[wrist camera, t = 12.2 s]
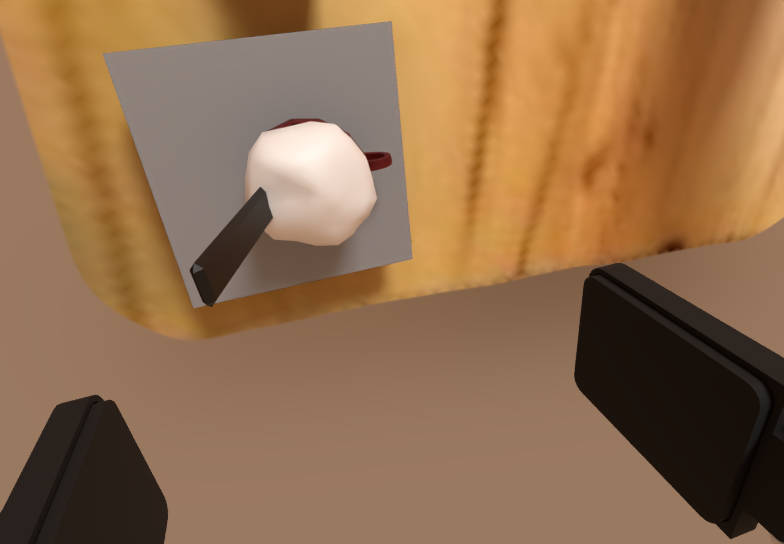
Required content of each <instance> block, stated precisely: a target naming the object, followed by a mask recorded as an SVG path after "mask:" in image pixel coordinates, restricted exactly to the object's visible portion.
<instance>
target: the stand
mask: <svg viewBox="0 0 784 544" xmlns="http://www.w3.org/2000/svg"><path fill="white" fill-rule="evenodd" d="M103 56H104V59H105V62H106V64H107V67H108V70H109V73H110V76H111V78H112V81H113V84H114V87H115V90H116V93H117V95H118V98H119V101H120V104H121V107H122V109H123V112H124V115H125V118H126V121H127V123H128V126H129V129H130V132H131V135H132V137H133V140H134V143H135V146H136V149H137V151H138V154H139V157H140V160H141V163H142V165H143V168H144V171H145V174H146V177H147V179H148V182H149V185H150V188H151V191H152V193H153V196H154V199H155V202H156V205H157V207H158V210H159V213H160V216H161V219H162V221H163V224H164V227H165V230H166V233H167V235H168V238H169V241H170V244H171V247H172V249H173V252H174V255H175V258H176V261H177V263H178V266H179V269H180V272H181V275H182V277H183V280H184V283H185V286H186V289H187V291H188V294H189V297H190V300H191V303H192V305H193V308H197V307H202V306H206V304H205V303H203V302H202V299H201V297H200V295H199V292H198V290H197V288H196V285H195V283H194V280H193V278H192V276H191V273H190V271H189V270H190V268H191V267H192V265H193V263H194V262H195V261H196V260H197V259H198V257H199V256H200V255H201V254H202V253H203V252H204V250H205V249H206V248H207V247H208V246H209V245H210V244H211V242H212V241H213V240H214V239H215V238H216V237H217V236H218V234H219V233H220V232H221V231H222V230H223V229H224V228H225V226H226V225H227V224H228V223H229V222H230V221H231V219H232V218H233V217H234V216H235V215H236V214H237V213H238V211H239V210H240V209H241V208H242V207H243V206H244V205H245V203H246V200H245V174H246V167H247V161H248V154H249V151H250V150H251V148H252V147H253V145H254V144H255V142H256V141H257V139H258V138H259V136H260V135H261V133H262V132H266V131H268V130H270V129H272V128H274V127H276V126H278V125H280V124H282V123H283V122H285V121H287V120H289V119H321V120H323V121H325V122H327V123H331V124H335V125H337V126H338V127H339V128H340V129H342V130H344V131H346V132H347V133H349V134H350V136H351V137H352V138H353V139H354V141H355V142H356V143H357V145H358V146H359V147H360V148H361V150H362V151H363V152H388V153H390V155H391V158H392V164H391V165H390V166H388V167H386V168H383V169H380V170H376V171H371V175H372V178H373V183H374V187H375V192H376V196H377V200H376V202H375V204H374V206H373V208H372V210H371V212H370V214H369V216H368V217H367V218H366V219H365V220H364V221H363V222H362V223H361V224H360V225H359V227H358V228H357V229H356V231H355V233H354V234H353V235H352V236H350V237H349V238H348V239H346V240H345V241H344V242H342V243H341V244H339V245H328V246H315V245H311V244H306V243H302V242H298V241H287V240H274V239H273V238H272V237H270V236H269V235H268V234H267V233H266V232H265V231H264V232H263V233H262V235H261V236H260V238H259V239H258V240H257V242H256V243H255V245H254V246H253V248H252V249H251V251H250V252H249V254H248V255H247V257H246V258H245V259H244V261H243V262H242V264H241V265H240V267H239V268H238V270H237V271H236V273H235V274H234V276H233V277H232V278H231V280H230V281H229V283H228V284H227V286H226V287H225V289H224V290H223V292H222V293H221V294H220V296H219V297H218V299H217V300H216V302H215V303H219V302H224V301H228V300H233V299H237V298H241V297H246V296H250V295H255V294H259V293H264V292H268V291H273V290H277V289H281V288H286V287H290V286H295V285H299V284H304V283H308V282H313V281H317V280H321V279H326V278H330V277H335V276H339V275H344V274H348V273H353V272H357V271H361V270H366V269H370V268H375V267H379V266H384V265H388V264H393V263H397V262H401V261H406V260H410V259H412V248H411V236H410V225H409V214H408V202H407V191H406V180H405V168H404V157H403V146H402V135H401V123H400V112H399V101H398V89H397V78H396V67H395V55H394V44H393V33H392V22H391V21H390V22H381V23H372V24H363V25H354V26H345V27H336V28H327V29H318V30H309V31H300V32H291V33H282V34H273V35H264V36H255V37H246V38H237V39H228V40H220V41H211V42H202V43H193V44H184V45H175V46H166V47H157V48H148V49H139V50H130V51H121V52H112V53H103ZM215 303H214V304H215Z"/></svg>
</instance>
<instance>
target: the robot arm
mask: <svg viewBox="0 0 784 544" xmlns="http://www.w3.org/2000/svg"><path fill="white" fill-rule="evenodd" d="M574 377H575V382H576V384H577V386H578V388H579V390H580V391H581V392H582V393H583V394H584V395H585V396H586V397H587V398H588V399H589V400H590V401H591V403H592V404H593V405H594V406H595V407H596V408H597V409H598V410H599V411H600V412H601V413H602V414H603V415H604V416H605V417H606V418H607V419H608V420H609V421H610V422H611V423H612V424H613V425H614V426H615V428H617V430H618V431H619V432H620V433H621V434H622V435H623V436H624V437H625V438H626V439H627V440H628V441H629V442H630V443H631V444H632V445H633V446H634V447H635V448H636V449H637V450H638V452H639V453H640V454H642V456H643V457H645V459H646V460H647V461H648V462H649V463H650V464H651V465H652V466H653V467H654V468H655V469H656V470H657V471H658V472H659V473H660V474H661V475H662V476H663V478H664V479H665V480H666V481H667V482H668V483H669V484H670V485H671V486H672V487H673V488H674V489H675V490H676V491H677V492H678V493H679V494H680V495H681V496H682V497H683V498H684V499H685V500H686V501H687V503H688V504H689V505H690V506H691V507H692V508H693V509H694V510H695V511H696V512H697V513H698V514H699V515H700V516H701V517H702V518H704V519H705V520H706V521H708V522H710V523H715V524H716V525H717V526H718V527H719V528H720V529H721V530H722V531H723V532H724V533H725V534H726V535H727V536H728V537H729V538H730V539H732V538H734V537H737V536H739V535H742V534H744V533H747V532H749V531H752V530H754V529H755V528H756V526H757V524H758V522H759V523H760V524H761V525H762V526H763V527H764V528H765V529H766V530H767V531H768V532H769V533H770V537H771V541H772V544H784V358H783V357H781V356H780V355H778V354H776V353H775V352H773V351H771V350H770V349H768V348H766V347H764V346H763V345H761V344H759V343H758V342H756V341H754V340H752V339H751V338H749V337H747V336H746V335H744V334H742V333H741V332H739V331H737V330H736V329H734V328H732V327H730V326H729V325H727V324H725V323H724V322H722V321H720V320H719V319H717V318H715V317H713V316H712V315H710V314H708V313H706V312H705V311H703V310H702V309H700V308H698V307H696V306H695V305H693V304H691V303H690V302H688V301H686V300H685V299H683V298H681V297H679V296H678V295H676V294H674V293H673V292H671V291H669V290H667V289H666V288H664V287H662V286H660V285H659V284H657V283H655V282H654V281H652V280H650V279H649V278H647V277H645V276H644V275H642V274H640V273H639V272H637V271H635V270H634V269H632V268H630V267H628V266H626V265H625V264H622V263H615V264H611V265H607V266H604V267H599V268H596V269H594V270H592V271H591V273H590V275H589V277H588V278H587V279H586V280H585V282H584V287H583V297H582V306H581V316H580V325H579V335H578V344H577V353H576V363H575V372H574ZM167 520H168V509H167V503H166V500H165V497H164V495H163V493H162V491H161V489H160V488H159V486H158V484H157V482H156V480H155V478H154V476H153V474H152V472H151V470H150V469H149V466H148V465H147V463H146V461H145V459H144V457H143V455H142V453H141V451H140V449H139V447H138V446H137V443H136V442H135V440H134V438H133V436H132V434H131V432H130V430H129V428H128V426H127V424H126V422H125V421H124V419H123V417H122V415H121V413H120V411H119V409H118V407H117V405H116V404H115V402H114V401H112V400H107V401H104V400H103V399H102V398H101V397H100V396H98V395H92V396H89V397H84V398H80V399H76V400H73V401H69V402H65V403H61V404H59V405H57V406H56V407H55V408H54V410H53V412H52V414H51V416H50V418H49V419H48V421H47V423H46V426H45V428H44V429H43V431H42V433H41V435H40V437H39V439H38V441H37V443H36V445H35V447H34V449H33V451H32V453H31V455H30V457H29V459H28V461H27V463H26V465H25V467H24V468H23V470H22V472H21V474H20V476H19V478H18V480H17V482H16V484H15V486H14V488H13V490H12V492H11V494H10V496H9V498H8V500H7V502H6V504H5V506H4V508H3V510H2V511H1V513H0V544H164V540H165V533H166V527H167Z"/></svg>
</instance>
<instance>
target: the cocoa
mask: <svg viewBox="0 0 784 544" xmlns="http://www.w3.org/2000/svg"><path fill="white" fill-rule="evenodd" d="M391 164H392V158H391V155H390V153H388V152H363V151H362V150H361V148H360V147H359V146H358V145H357V143H356V142H355V141H354V139H353V138H352V137H351V136H350V134H349V133H347V132H346V131H344V130H342V129H340V128H339V127H338V126H337V125H335V124H331V123H327V122H325V121H323V120H321V119H289V120H287V121H285V122H283V123H282V124H280V125H278V126H276V127H274V128H272V129H270V130H268V131H266V132H262V133H261V135H260V136H259V138H258V139H257V141H256V142H255V144H254V145H253V147H252V148H251V150H250V151H249V154H248V161H247V167H246V174H245V200H246V203H245V205H244V206H243V207H242V208H241V209H240V210H239V211H238V213H237V214H236V215H235V216H234V217H233V218H232V219H231V221H230V222H229V223H228V224H227V225H226V226H225V228H224V229H223V230H222V231H221V232H220V233H219V234H218V236H217V237H216V238H215V239H214V240H213V241H212V242H211V244H210V245H209V246H208V247H207V248H206V249H205V250H204V252H203V253H202V254H201V255H200V256H199V257H198V259H197V260H196V261H195V262H194V263H193V265H192V267H191V268H190V270H189V271H190V273H191V276H192V278H193V280H194V283H195V285H196V288H197V290H198V292H199V295H200V297H201V299H202V302H203V303H205V304H206V305H207V306H210V307H212V306H213V305H214V303H215V302H216V300H217V299H218V297H219V296H220V294H221V293H222V292H223V290H224V289H225V287H226V286H227V284H228V283H229V281H230V280H231V278H232V277H233V276H234V274H235V273H236V271H237V270H238V268H239V267H240V265H241V264H242V262H243V261H244V259H245V258H246V257H247V255H248V254H249V252H250V251H251V249H252V248H253V246H254V245H255V243H256V242H257V240H258V239H259V238H260V236H261V235H262V233H263V232H264V231H265V232H266V233H267V234H268V235H269V236H270V237H272V238H273V239H274V240H287V241H298V242H302V243H306V244H311V245H315V246H328V245H339V244H341V243H342V242H344V241H345V240H346V239H348V238H349V237H350V236H352V235H353V234H354V233H355V231H356V229H357V228H358V227H359V225H360V224H361V223H362V222H363V221H364V220H365V219H366V218H367V217H368V216H369V214H370V212H371V210H372V208H373V206H374V204H375V202H376V200H377V196H376V192H375V187H374V183H373V178H372V175H371V171H376V170H380V169H383V168H386V167H388V166H390V165H391Z"/></svg>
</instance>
